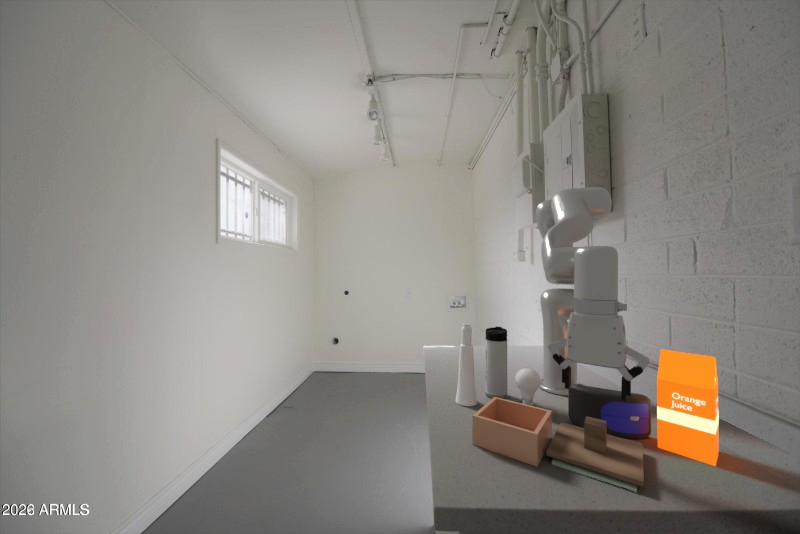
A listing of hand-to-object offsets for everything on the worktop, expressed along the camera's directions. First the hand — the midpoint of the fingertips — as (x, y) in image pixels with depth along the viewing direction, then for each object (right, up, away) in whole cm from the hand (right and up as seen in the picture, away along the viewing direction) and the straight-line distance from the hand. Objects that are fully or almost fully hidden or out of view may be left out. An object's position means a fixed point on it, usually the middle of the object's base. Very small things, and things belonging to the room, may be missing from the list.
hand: (594, 392), depth 64 cm
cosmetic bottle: (-21, -13, +25) cm, 35 cm away
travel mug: (-11, -13, +30) cm, 35 cm away
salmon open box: (-15, -13, +5) cm, 20 cm away
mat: (0, -13, -1) cm, 13 cm away
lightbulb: (-5, -13, +21) cm, 25 cm away
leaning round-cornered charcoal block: (+9, -13, +10) cm, 19 cm away
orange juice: (+21, -13, +2) cm, 25 cm away
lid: (0, -12, -1) cm, 12 cm away
